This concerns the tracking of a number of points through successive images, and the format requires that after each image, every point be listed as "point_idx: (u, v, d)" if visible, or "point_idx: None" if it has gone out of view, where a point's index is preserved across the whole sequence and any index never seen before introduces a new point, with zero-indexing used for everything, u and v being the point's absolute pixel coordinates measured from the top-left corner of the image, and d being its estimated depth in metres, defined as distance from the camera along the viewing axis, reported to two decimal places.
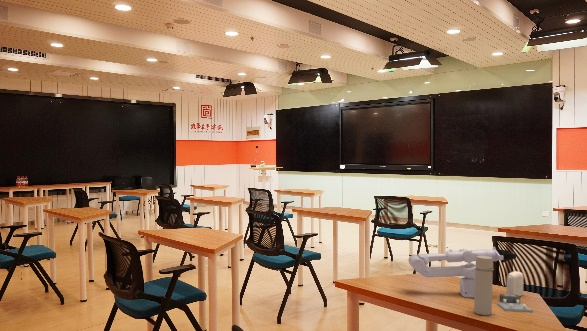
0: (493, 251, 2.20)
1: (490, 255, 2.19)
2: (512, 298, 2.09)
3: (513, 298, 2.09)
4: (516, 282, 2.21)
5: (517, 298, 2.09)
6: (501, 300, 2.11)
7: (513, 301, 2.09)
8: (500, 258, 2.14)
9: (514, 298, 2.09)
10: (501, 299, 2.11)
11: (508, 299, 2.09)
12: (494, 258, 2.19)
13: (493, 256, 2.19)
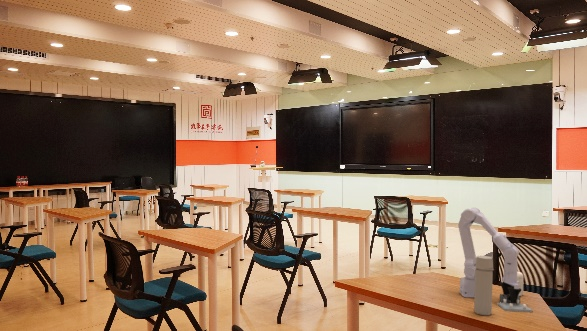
0: (516, 280, 2.09)
1: (513, 276, 2.08)
2: None
3: None
4: None
5: (517, 298, 2.09)
6: (501, 300, 2.11)
7: None
8: (516, 285, 2.04)
9: None
10: (501, 299, 2.11)
11: (508, 299, 2.09)
12: (510, 280, 2.08)
13: (512, 279, 2.08)
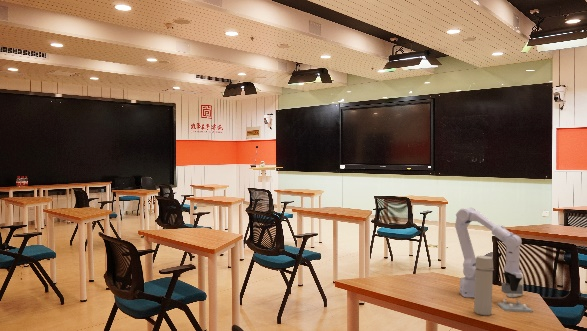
0: (518, 269, 2.06)
1: (516, 265, 2.05)
2: None
3: None
4: None
5: (519, 286, 2.06)
6: (503, 289, 2.08)
7: None
8: (518, 274, 2.01)
9: None
10: (503, 288, 2.08)
11: (510, 288, 2.06)
12: (512, 269, 2.06)
13: (514, 268, 2.05)
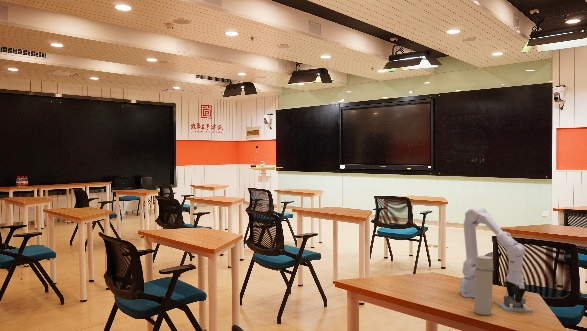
0: (521, 279, 2.02)
1: (518, 275, 2.01)
2: None
3: None
4: None
5: (522, 300, 2.01)
6: (505, 302, 2.03)
7: (518, 303, 2.01)
8: (521, 285, 1.96)
9: None
10: (505, 301, 2.03)
11: (513, 301, 2.01)
12: (514, 279, 2.01)
13: (517, 279, 2.01)
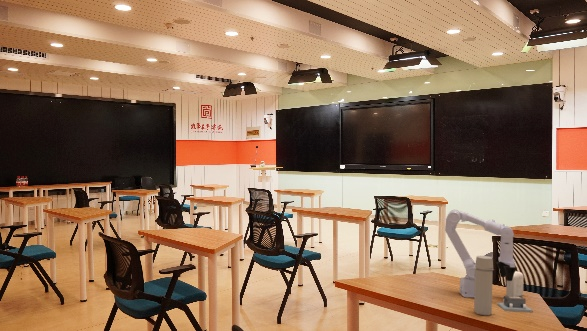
0: (512, 259, 2.14)
1: (509, 256, 2.13)
2: (517, 301, 2.01)
3: (518, 300, 2.01)
4: (516, 282, 2.21)
5: (522, 300, 2.01)
6: (505, 302, 2.03)
7: (518, 303, 2.01)
8: (512, 264, 2.09)
9: (519, 300, 2.01)
10: (505, 301, 2.03)
11: (513, 301, 2.01)
12: (506, 259, 2.14)
13: (508, 258, 2.13)
